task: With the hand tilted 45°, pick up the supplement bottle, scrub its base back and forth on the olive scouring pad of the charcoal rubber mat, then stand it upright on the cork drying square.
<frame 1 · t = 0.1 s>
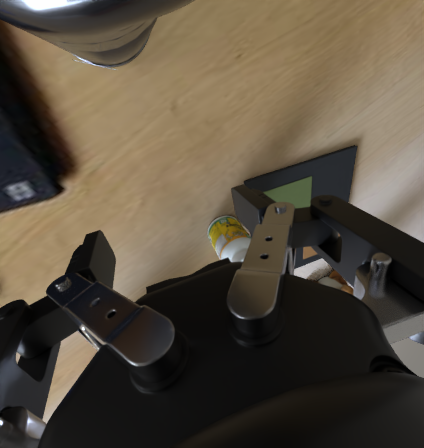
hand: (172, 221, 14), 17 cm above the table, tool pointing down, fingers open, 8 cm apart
stuffed squirrel: (320, 288, 55), on the table
supplement bottle: (222, 228, 38), on the table
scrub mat: (299, 221, 42), on the table
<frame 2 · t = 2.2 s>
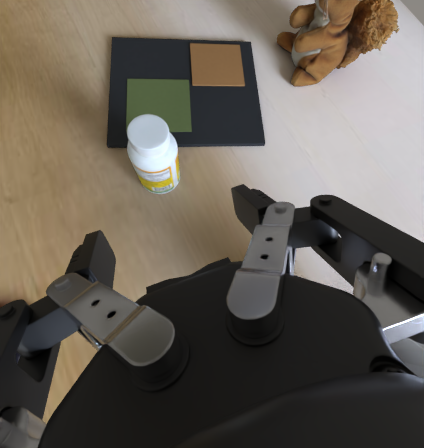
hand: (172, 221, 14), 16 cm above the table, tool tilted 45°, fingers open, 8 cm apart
stuffed squirrel: (315, 64, 39), on the table
supplement bottle: (160, 177, 32), on the table
plastic cup: (334, 357, 28), on the table
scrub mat: (186, 91, 36), on the table
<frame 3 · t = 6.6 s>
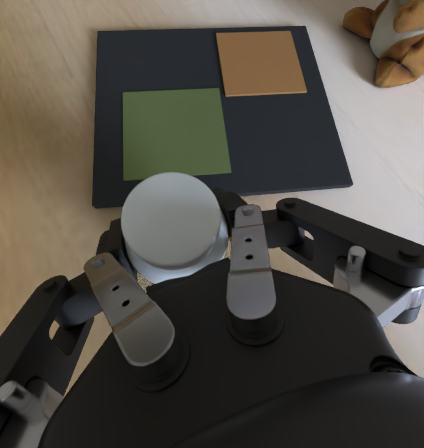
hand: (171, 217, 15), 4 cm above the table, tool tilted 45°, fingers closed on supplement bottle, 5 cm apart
stuffed squirrel: (404, 53, 26), on the table
supplement bottle: (185, 254, 19), on the table, touching gripper
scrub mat: (215, 106, 23), on the table
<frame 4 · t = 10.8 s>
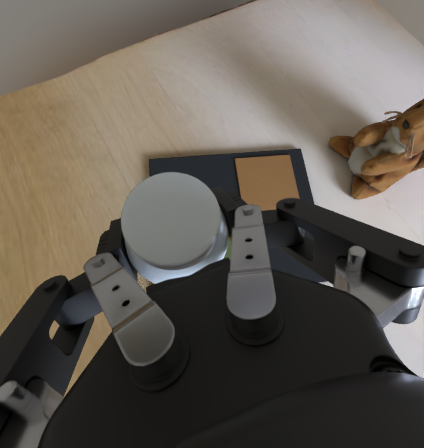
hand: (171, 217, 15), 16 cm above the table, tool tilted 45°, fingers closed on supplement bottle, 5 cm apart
stuffed squirrel: (374, 167, 35), on the table
supplement bottle: (185, 254, 19), point 11 cm above the table, touching gripper
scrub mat: (235, 217, 31), on the table
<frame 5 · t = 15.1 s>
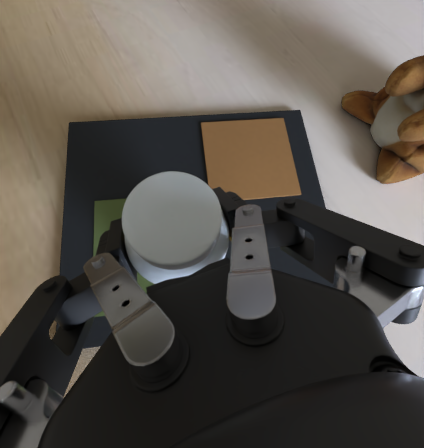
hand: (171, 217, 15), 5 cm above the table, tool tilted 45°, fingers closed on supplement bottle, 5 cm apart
stuffed squirrel: (407, 138, 24), on the table
supplement bottle: (184, 256, 19), point 1 cm above the table, touching gripper
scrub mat: (199, 211, 20), on the table
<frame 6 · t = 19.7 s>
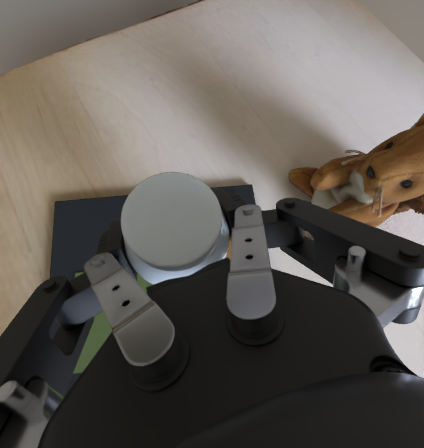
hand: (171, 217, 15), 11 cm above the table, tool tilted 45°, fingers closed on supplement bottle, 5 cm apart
stuffed squirrel: (345, 206, 28), on the table
supplement bottle: (184, 256, 19), point 7 cm above the table, touching gripper
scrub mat: (162, 278, 24), on the table
when the fingers open (5 cm above the table, at t = 23.9 s): supplement bottle stays where it is, resting on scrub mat.
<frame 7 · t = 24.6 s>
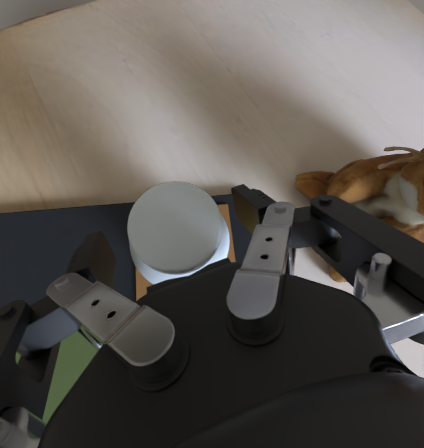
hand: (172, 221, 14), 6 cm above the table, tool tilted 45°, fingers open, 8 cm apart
stuffed squirrel: (368, 221, 22), on the table
supplement bottle: (187, 257, 19), point 1 cm above the table, touching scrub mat
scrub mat: (126, 319, 18), on the table
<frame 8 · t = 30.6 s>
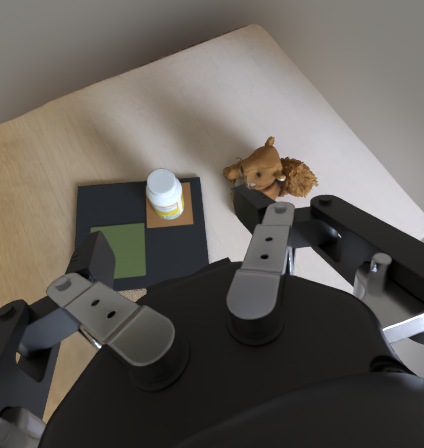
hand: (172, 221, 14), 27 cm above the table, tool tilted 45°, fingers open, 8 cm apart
stuffed squirrel: (259, 191, 44), on the table
supplement bottle: (169, 206, 42), point 1 cm above the table, touching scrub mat
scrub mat: (142, 232, 41), on the table
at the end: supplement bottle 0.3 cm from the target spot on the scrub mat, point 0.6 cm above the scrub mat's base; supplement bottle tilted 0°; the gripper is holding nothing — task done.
